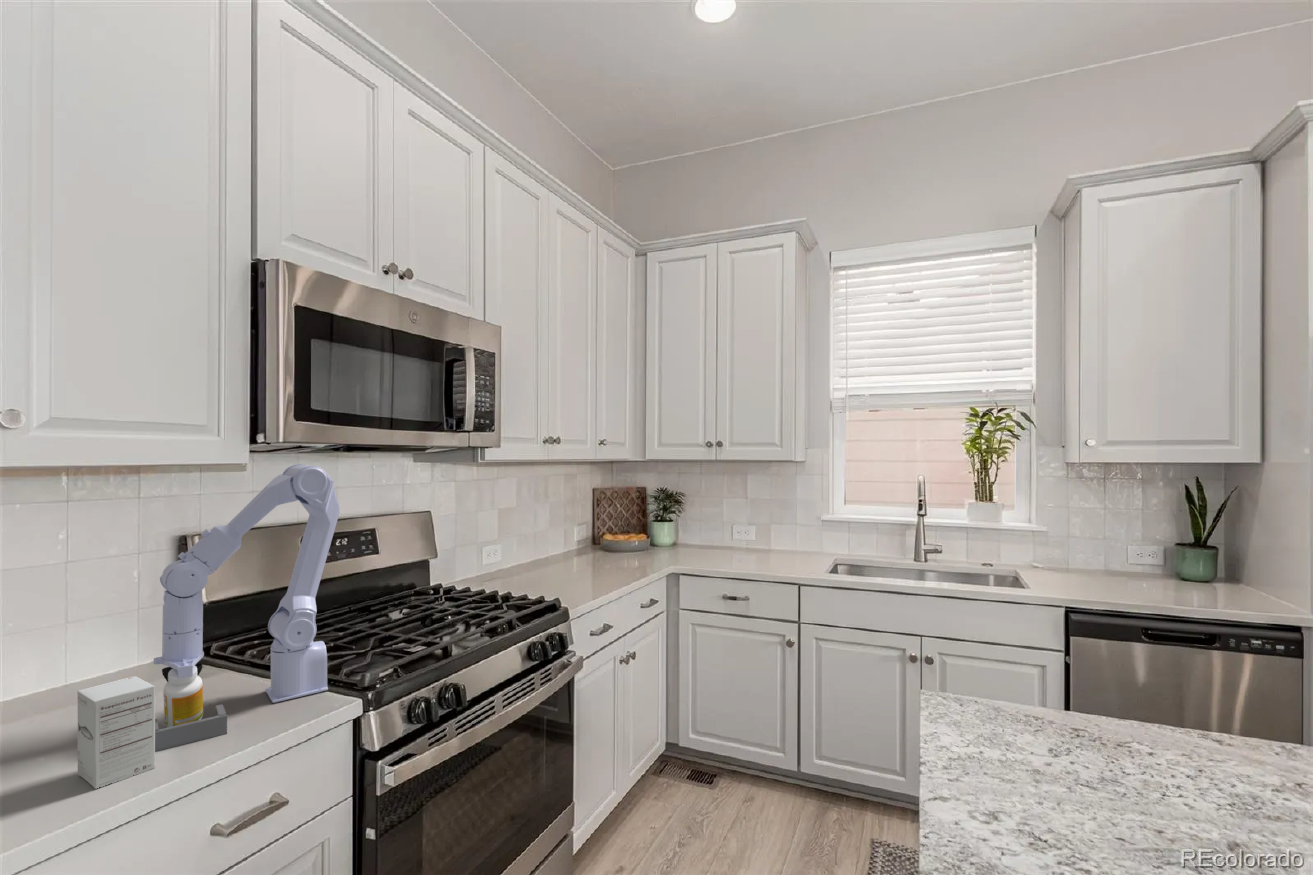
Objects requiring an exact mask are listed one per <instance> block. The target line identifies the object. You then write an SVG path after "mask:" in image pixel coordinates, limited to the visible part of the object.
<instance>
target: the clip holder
mask: <svg viewBox="0 0 1313 875" xmlns="http://www.w3.org/2000/svg"><path fill="white" fill-rule="evenodd" d="M158 722H159V721H158V719H157V718H155V752H159V751H163V750H167V749H171V748H176V747H180V746H182V745H186V744H191V743H195V742H198V741H202V740H203V741H204V740H207V739H211V738H214V737H219V736H222V735H226V734H228V715H227V711H226V709H225V707H224V705H223V703H222V704H217V705H215V715H214V716H211V717H206V718H202V719H201V720H197V721H193V722H188V723H184V724H180V725H176V726H171V727H167V726H166V727H163V728H160V727H159V723H158Z"/></svg>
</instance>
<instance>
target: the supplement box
mask: <svg viewBox="0 0 1313 875" xmlns="http://www.w3.org/2000/svg"><path fill="white" fill-rule="evenodd" d="M155 719H156V686H155V685H154V684H152V683H150V682H148V681H146V680H144V679H142V678H140V677H139V676H137V675H135V676H130V677H125V678H121V679H116V680H114V681H110V682H106V683H102V684H99V685H94V686H91V687H87V688H83V689H79V690H77V775H78V776H79V777H81V778H82V779H84V780H85V781H87V783H89V785H90V786H92V787H93V788H94V789H96V790H97V788H98V789H100V788H99V787H101V788H103V786H104V787H106V786H105V785H107V786H109V785H108V784H110V783H112V784H115V783H117V781H118V782H120V780H121V781H124V780H125V779H129V778H131V777H134V776H133V775H135V776H137V775H136V774H138V775H140V774H143V773H146V772H148V771H150V769H151V770H153V769H155V768H156V751H155ZM145 771H146V772H145ZM142 772H143V773H142ZM110 785H111V784H110Z"/></svg>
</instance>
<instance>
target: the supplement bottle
mask: <svg viewBox="0 0 1313 875" xmlns="http://www.w3.org/2000/svg"><path fill="white" fill-rule="evenodd" d="M203 689H204V685H203V680H202V678H201V676H199V675H198V676H197V667H196V666H195V665H194V666H193V676H191V677H186V678H180V679H178V671H177V670H176V669H174V668H173V669H171V670H170V671H169V673H168V682H167V681H166V683H165V684H164V687H163V712H164V724H165V726H166V728H167V727H171V726H176V725H180V724H184V723H188V722H193V721H197V720H201V719H203V716H204V693H203V692H204V690H203Z"/></svg>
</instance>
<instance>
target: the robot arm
mask: <svg viewBox="0 0 1313 875" xmlns="http://www.w3.org/2000/svg"><path fill="white" fill-rule="evenodd" d="M334 482H335V481H334V480H333V478H332V477H331V476H330V475H329V473H327V472H326V471H325V470H324V469H323V468H322V467H320V466H317V465H306V464H301V463H299V464H297V463H296V464H292V465H290V466H288V467H287V468H286V469H285V470H283V472H282V474H278V475H277V476H275V477H274V478H273V479H272V480H271V481H270V482H269V483H267V484H266V486H265V487H264V488H263V489H261V491H259V492H258V494H256V496H255V497H253V499H251V500H250V501H249V503H247V504H246V505H245V507H243V509H242V510H240V512H239V513H237V514H236V516H234V518H232V519H231V520H230V521H229V523H227V524H226V525H217V526H213V527H212V528H211V529H210V530H209V529H205V530H203V532H201V533H200V536H201V538H200V539H199V540H198V541H197V542H196V543H195V544H194V545H192V547H190V548H189V549H188V550H187V551H186V552H183V551H182V552H180V554H178V555H177V557H178V558H179V559H178V560H177V561H172V562H171V563H169V564H168V565H167V566H166V567H164V569H163V571H162V574H161V575H160V577H159V582H160V584H161V586H162V587H163V588H164V589H165V590H164V594H163V605H162V626H161V627H162V630H161V632H162V637H161V638H162V640H161V642H162V644H161V646H162V647H161V650H162V651H161V656H158V657H153V665H164V666H166V667H163V668H162V669H161V672H162V676H163V677H164V679H165V681H166V683H167V682H168V673H169V671H170V670H171V669H173V668H174V669H176V670H177V671H178V679H180V678H186V677H191V676H193V666H194V665H195V666H196V667H197V676H199V675H200V674H201V672H202V670H203V663H202V661H201V660H202V659H203V657H204V656H205V652H204V650H203V649H204V648H203V646H204V645H203V642H204V641H203V640H204V638H203V637H204V636H203V635H204V634H203V632H204V601H203V590H204V589H205V587H206V586H207V585H208V580H209V576H210V575H212V574H214V573H215V572H217V570H219V568H221V566H222V565H223V564H225V563H226V562H227V561H228V560H229V559H230V558H231V557H232V556H233V555H234V554H235V553H236V552H238V550H239V549H241V547H242V540H243V539H242V538H243V536H244V535H245V534H247V533H248V532H249V531H250V530H251V529H252V528H253V527H254V526H256V525H257V524H259V522H260V521H261V520H262V519H263V518H265V517H266V516H267V515H268V514H270V513H271V512H272V511H273V510H274V509H275V508H276V507H277V506H279V505H283V504H289V503H293V502H297V501H298V502H299V503H301V505H302V507H303V508H304V509H305V511H306V512H307V513H308V519H307V522H306V526H305V530H304V532H303V536H302V539H301V543H300V546H299V549H298V553H297V556H296V560H295V564H294V566H293V571H292V574H291V578H290V581H289V584H288V587H287V591H286V593H285V595H284V596H283V597H282V598H281V599H280V601H279V604H278V607H277V609H276V611H275V612H274V613H273V614H272V615H271V617H270V618H269V620H268V624H267V630H268V633H269V634H270V635H271V636H272V638H274V639H273V642H272V643H271V645H270V687H265V690H264V691H265V693H266V694H267V696H268V698H269V699H270V701H271V703H272V704H273V703H279V702H284V701H288V700H291V699H296V698H300V697H301V698H302V697H304V696H309V695H313V694H317V693H318V694H319V693H321V692H326V691H328V690H329V687H328V653H327V647H326V644H325V642H324V641H323V640H319V641H318V640H317V641H314V639H315V638H316V635H317V631H318V630H317V624H316V617H317V616H316V615H317V611H318V610H317V609H318V608H317V602H316V597H317V593H318V590H319V586H320V582H321V579H322V575H323V571H324V568H325V566H326V561H327V558H328V555H329V550H330V548H331V544H332V541H333V536H334V535H335V530H336V526H337V523H338V519H339V515H340V510H341V508H340V504H339V501H338V498H337V495H336V490H335V487H334V486H335V484H334Z"/></svg>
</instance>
